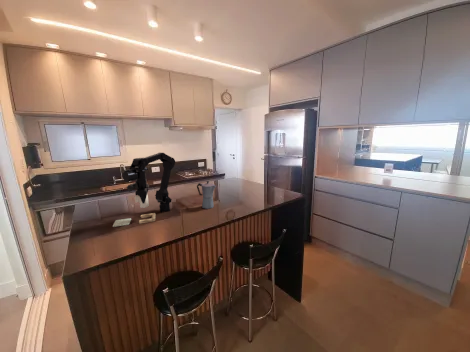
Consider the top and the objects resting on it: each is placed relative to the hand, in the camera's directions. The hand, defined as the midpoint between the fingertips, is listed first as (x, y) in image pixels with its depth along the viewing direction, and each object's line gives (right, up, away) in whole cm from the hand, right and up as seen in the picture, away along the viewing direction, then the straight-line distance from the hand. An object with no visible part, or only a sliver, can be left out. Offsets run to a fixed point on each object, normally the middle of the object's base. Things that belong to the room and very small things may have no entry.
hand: (144, 201), depth 129 cm
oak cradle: (0, -12, +2) cm, 12 cm away
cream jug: (-1, -3, 0) cm, 3 cm away
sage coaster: (-13, -13, -2) cm, 18 cm away
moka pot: (+38, -7, +22) cm, 44 cm away
